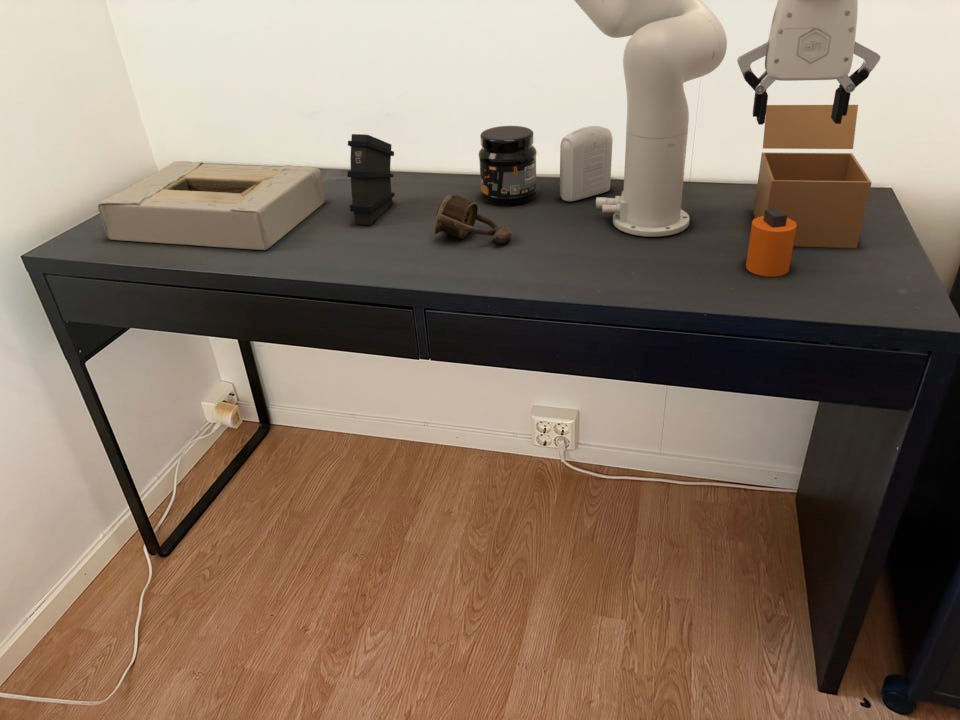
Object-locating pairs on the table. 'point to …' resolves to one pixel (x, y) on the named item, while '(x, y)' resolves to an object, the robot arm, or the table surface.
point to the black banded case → (370, 178)
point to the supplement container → (508, 165)
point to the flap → (808, 127)
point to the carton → (815, 195)
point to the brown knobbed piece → (466, 220)
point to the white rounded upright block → (585, 163)
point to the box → (214, 205)
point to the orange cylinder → (771, 244)
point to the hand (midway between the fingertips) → (797, 121)
